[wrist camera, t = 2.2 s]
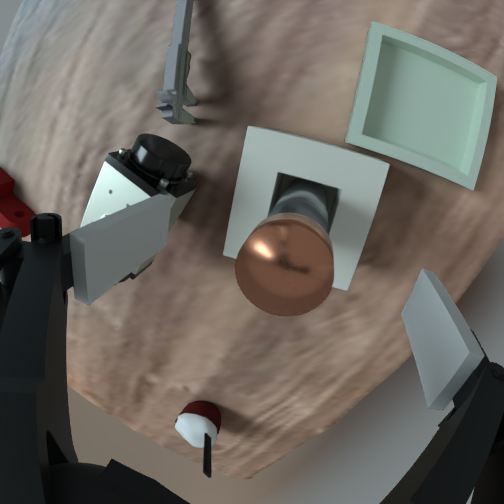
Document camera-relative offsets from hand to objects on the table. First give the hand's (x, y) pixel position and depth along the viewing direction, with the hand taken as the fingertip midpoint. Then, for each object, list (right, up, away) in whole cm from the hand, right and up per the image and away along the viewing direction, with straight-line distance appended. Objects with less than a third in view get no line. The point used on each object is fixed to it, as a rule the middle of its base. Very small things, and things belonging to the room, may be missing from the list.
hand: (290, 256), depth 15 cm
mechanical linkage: (-40, +9, +22) cm, 46 cm away
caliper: (-7, +22, +8) cm, 24 cm away
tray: (+13, +13, +6) cm, 19 cm away
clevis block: (+3, +5, +12) cm, 13 cm away
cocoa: (-8, -23, +27) cm, 37 cm away
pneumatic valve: (-9, +6, +15) cm, 18 cm away
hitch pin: (+3, +5, +11) cm, 12 cm away
